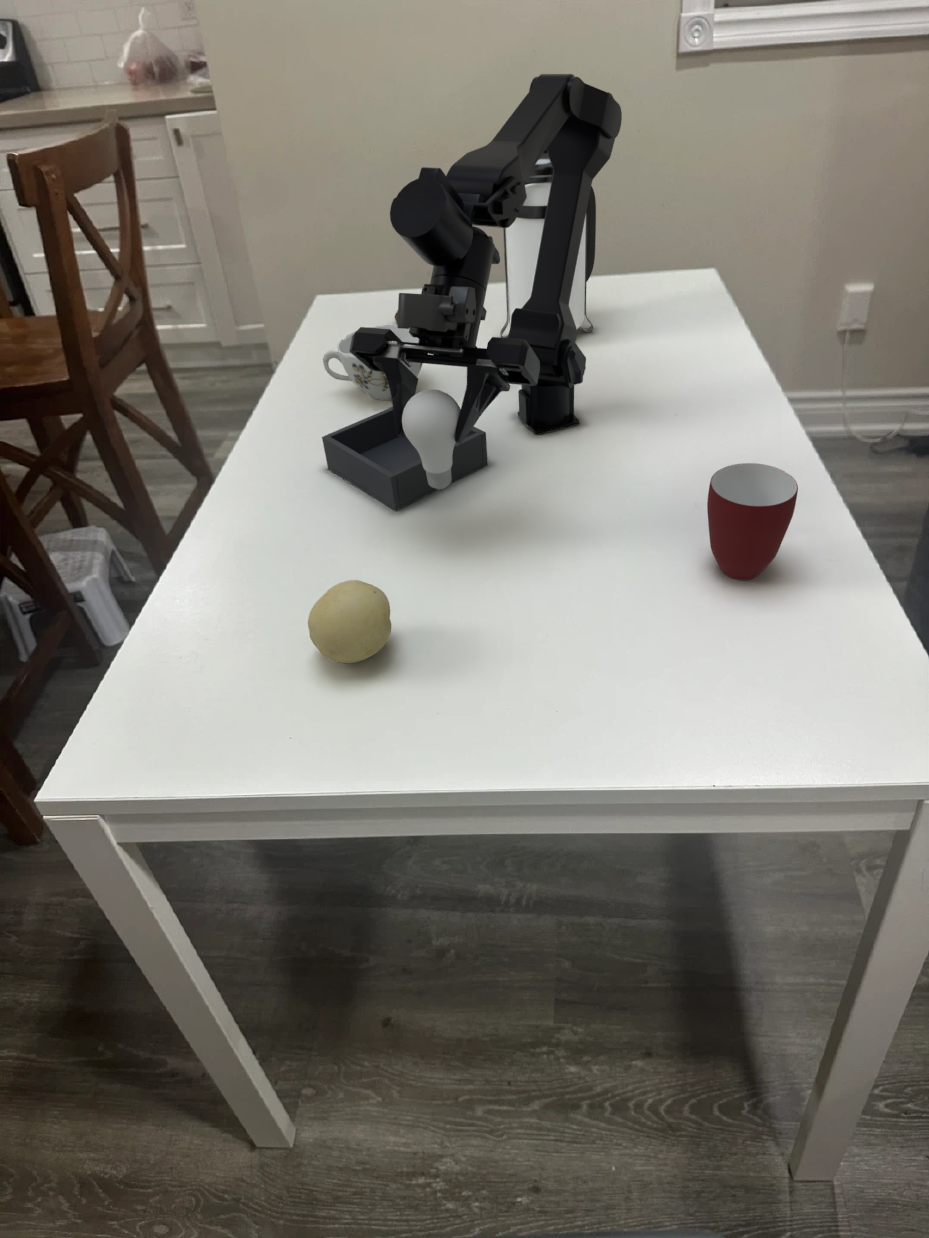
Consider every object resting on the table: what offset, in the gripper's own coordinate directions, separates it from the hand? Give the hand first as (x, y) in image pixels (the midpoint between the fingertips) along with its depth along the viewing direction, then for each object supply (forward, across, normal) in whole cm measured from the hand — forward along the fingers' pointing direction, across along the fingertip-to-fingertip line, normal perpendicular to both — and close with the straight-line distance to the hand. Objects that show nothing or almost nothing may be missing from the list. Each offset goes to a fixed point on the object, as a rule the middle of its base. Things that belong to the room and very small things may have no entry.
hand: (428, 439), depth 87 cm
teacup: (-14, -24, +35) cm, 44 cm away
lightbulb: (+4, 0, +6) cm, 7 cm away
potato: (+22, -1, -4) cm, 23 cm away
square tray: (-1, -11, +20) cm, 23 cm away
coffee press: (-32, -6, +54) cm, 63 cm away
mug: (+6, +31, +14) cm, 34 cm away
